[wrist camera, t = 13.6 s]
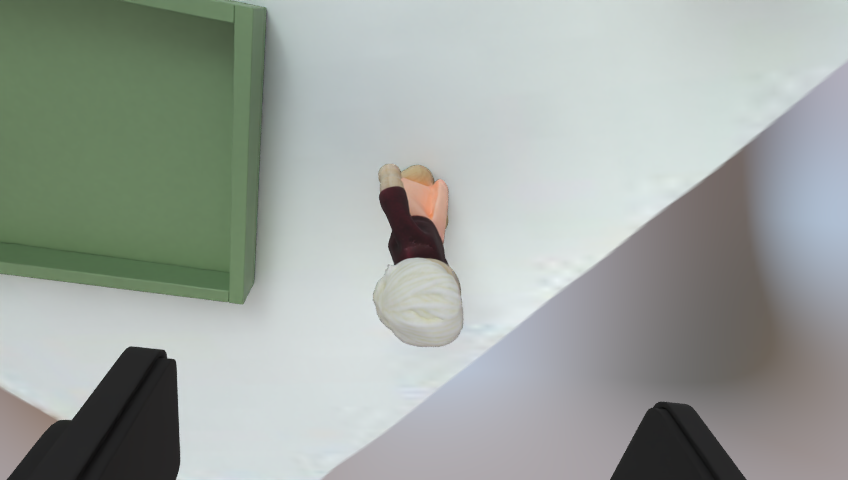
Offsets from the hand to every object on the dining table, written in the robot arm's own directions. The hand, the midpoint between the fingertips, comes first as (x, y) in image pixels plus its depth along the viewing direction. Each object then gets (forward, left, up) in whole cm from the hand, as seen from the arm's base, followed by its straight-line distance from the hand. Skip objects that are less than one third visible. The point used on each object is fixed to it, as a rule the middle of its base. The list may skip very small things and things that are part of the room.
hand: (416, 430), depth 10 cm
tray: (-16, -2, -19) cm, 25 cm away
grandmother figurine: (+1, -2, -19) cm, 19 cm away
